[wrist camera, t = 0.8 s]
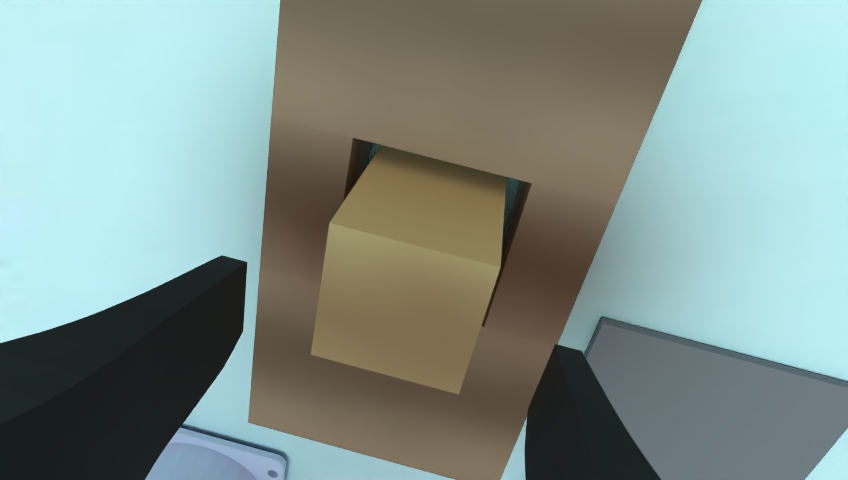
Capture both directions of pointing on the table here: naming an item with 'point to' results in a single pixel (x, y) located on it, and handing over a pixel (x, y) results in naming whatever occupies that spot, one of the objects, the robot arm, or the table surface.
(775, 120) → the table surface
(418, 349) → the ochre peg
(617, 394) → the charcoal mat
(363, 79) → the wooden board with hole
